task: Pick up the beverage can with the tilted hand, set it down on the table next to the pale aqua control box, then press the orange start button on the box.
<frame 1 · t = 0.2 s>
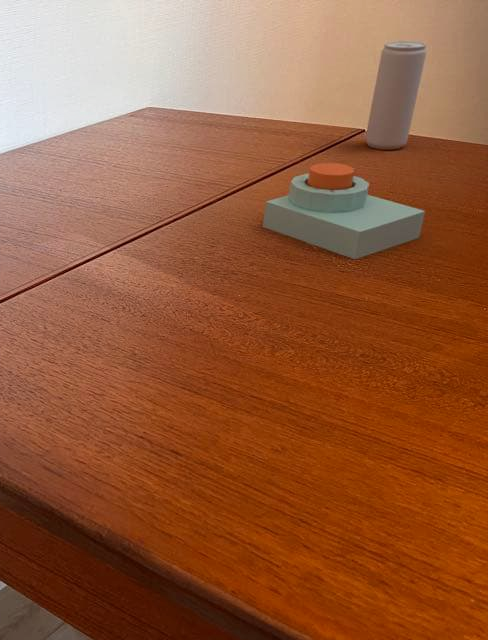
beverage can: (384, 147, 109), on the table
control box: (338, 232, 84), on the table
start button: (330, 177, 83), point 5 cm above the table, slide at 0.1 cm
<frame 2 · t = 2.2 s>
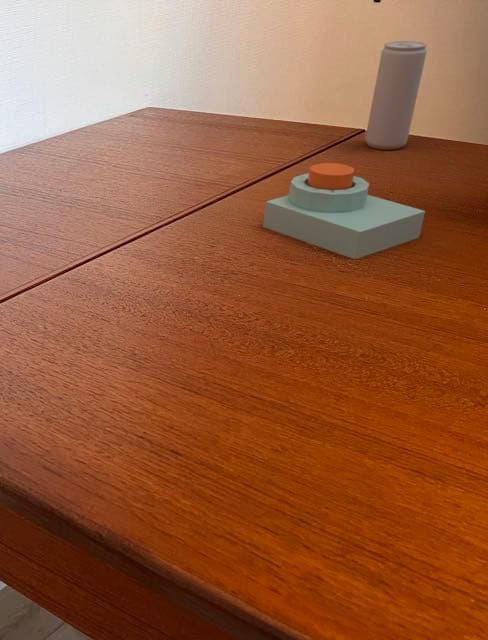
nothing on the table moved.
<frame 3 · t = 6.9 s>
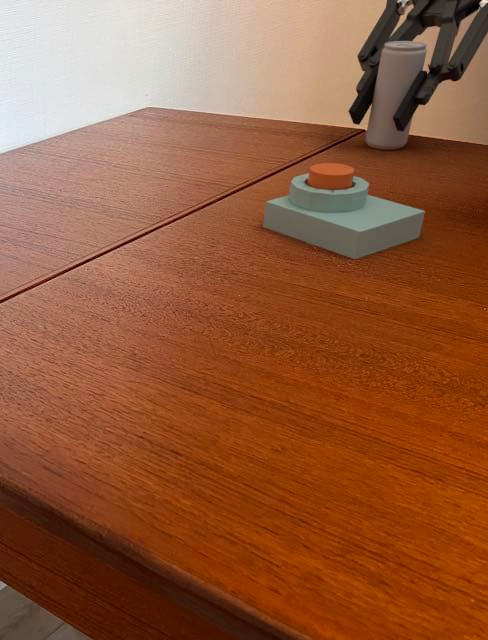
hand: (375, 120, 105), 4 cm above the table, tool tilted 45°, fingers closed on beverage can, 5 cm apart
beverage can: (384, 147, 109), on the table, touching gripper
everything else where it was.
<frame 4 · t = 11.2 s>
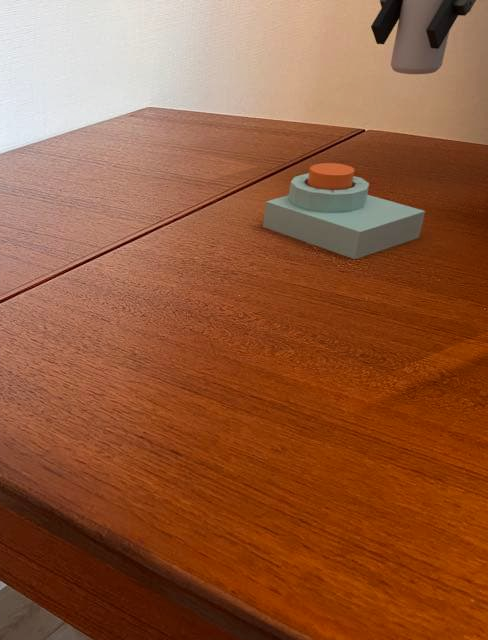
hand: (404, 37, 86), 16 cm above the table, tool tilted 45°, fingers closed on beverage can, 5 cm apart
beverage can: (414, 72, 90), point 12 cm above the table, touching gripper
everything else where it was.
when the fingers open (4 cm above the table, at t = 15.5 s): beverage can stays where it is, on the table.
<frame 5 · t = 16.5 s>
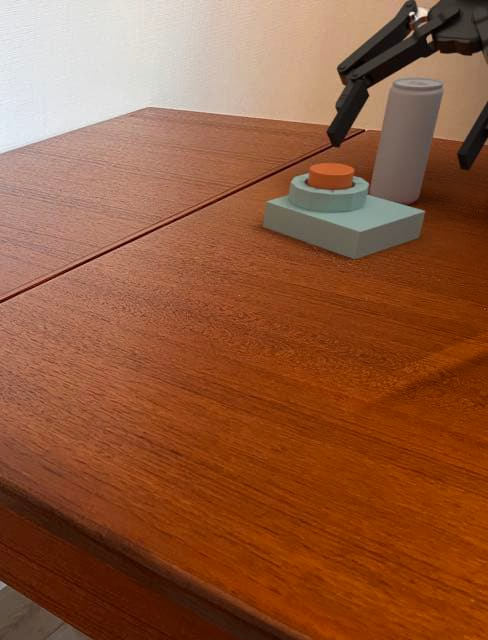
hand: (394, 150, 87), 6 cm above the table, tool tilted 45°, fingers open, 13 cm apart
beverage can: (392, 201, 91), on the table
everything else where it was.
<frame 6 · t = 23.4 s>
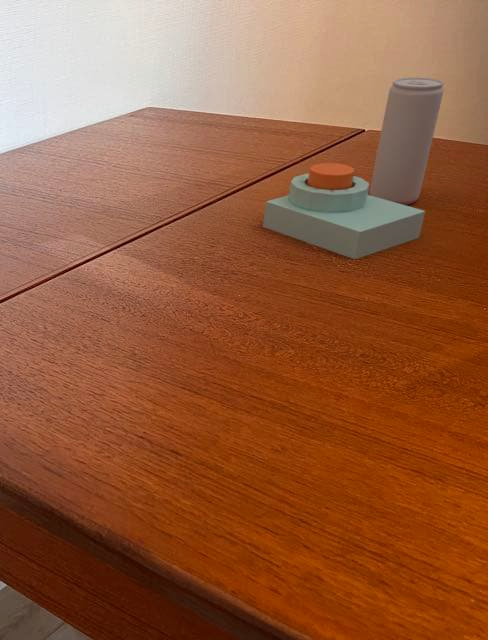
nothing on the table moved.
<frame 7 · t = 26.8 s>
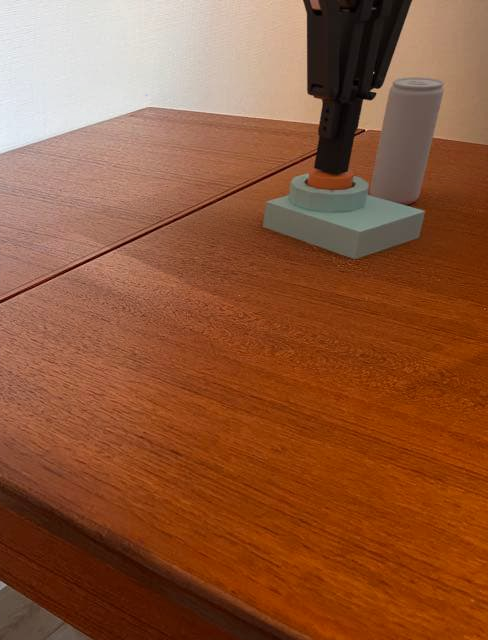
hand: (330, 169, 83), 6 cm above the table, tool pointing down, fingers closed
start button: (329, 181, 83), point 5 cm above the table, slide at -0.2 cm, touching gripper
everything else where it was.
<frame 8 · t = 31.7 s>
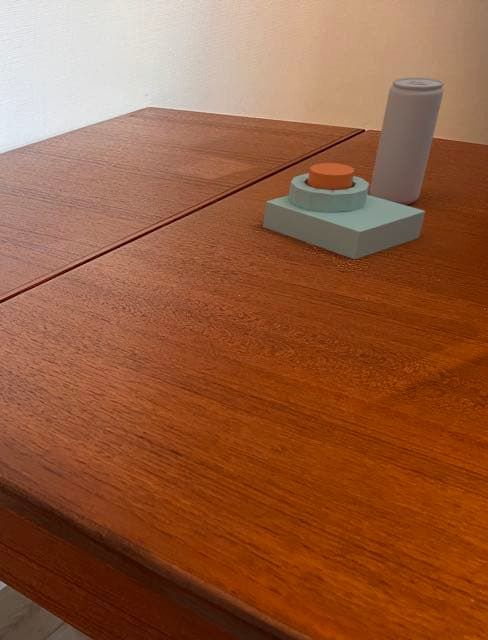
start button: (330, 177, 83), point 5 cm above the table, slide at 0.1 cm
everything else where it was.
at the end: beverage can 0.1 cm from the target spot, on the table; start button pushed in 1.0 cm at the most during the clip, back to where it started at the end; start button slide at 0.1 cm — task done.
